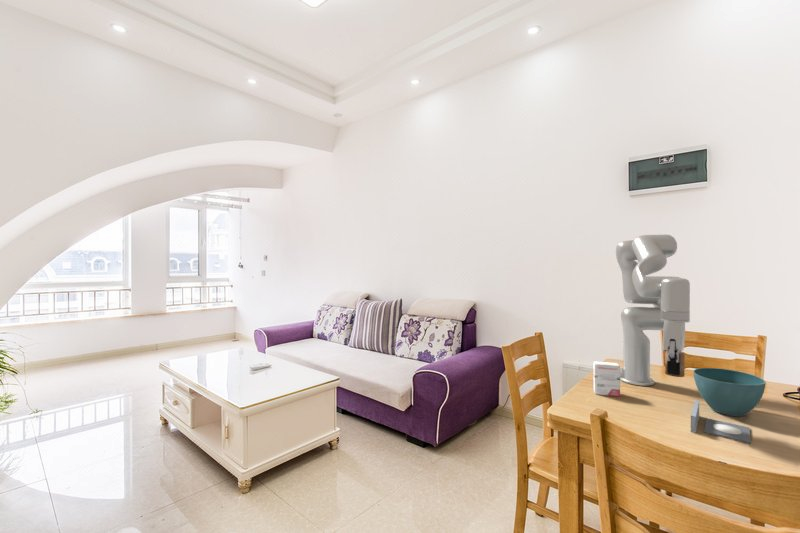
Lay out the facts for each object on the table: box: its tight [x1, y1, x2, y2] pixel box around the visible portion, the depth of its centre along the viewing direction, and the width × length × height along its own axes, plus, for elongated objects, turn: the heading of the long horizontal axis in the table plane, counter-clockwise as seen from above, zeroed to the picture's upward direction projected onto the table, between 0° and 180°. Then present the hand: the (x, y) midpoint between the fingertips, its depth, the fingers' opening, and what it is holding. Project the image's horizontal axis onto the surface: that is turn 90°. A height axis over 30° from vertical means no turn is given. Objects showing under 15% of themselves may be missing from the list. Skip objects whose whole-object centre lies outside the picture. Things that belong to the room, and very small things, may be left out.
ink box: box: [592, 361, 621, 397], centre depth 142 cm, size 9×5×12 cm, turn 71°
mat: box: [704, 417, 752, 444], centre depth 110 cm, size 10×12×1 cm
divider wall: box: [690, 399, 700, 434], centre depth 115 cm, size 1×16×5 cm, turn 138°
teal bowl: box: [692, 367, 767, 417], centre depth 124 cm, size 18×18×12 cm
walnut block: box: [664, 350, 686, 378], centre depth 119 cm, size 5×5×7 cm
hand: (674, 371), depth 119 cm, fingers closed on walnut block, 5 cm apart
